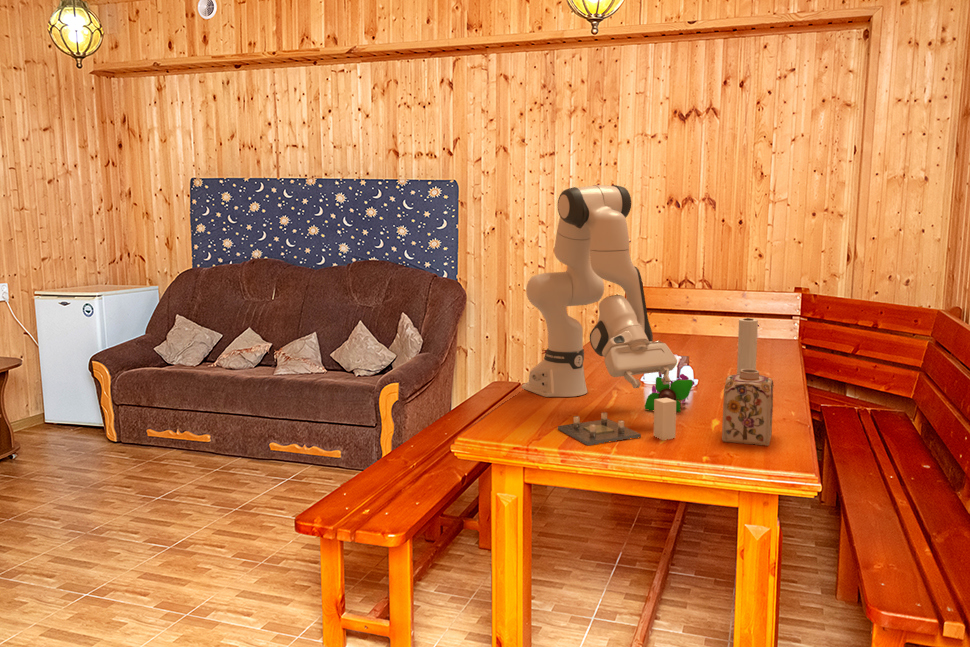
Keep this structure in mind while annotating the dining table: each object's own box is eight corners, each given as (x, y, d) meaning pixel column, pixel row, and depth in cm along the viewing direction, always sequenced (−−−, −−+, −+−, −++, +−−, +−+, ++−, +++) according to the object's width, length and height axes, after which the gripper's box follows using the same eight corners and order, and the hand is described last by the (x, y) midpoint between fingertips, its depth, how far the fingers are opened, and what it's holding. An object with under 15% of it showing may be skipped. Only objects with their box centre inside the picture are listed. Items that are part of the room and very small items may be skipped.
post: (653, 436, 213) (654, 399, 212) (666, 434, 215) (667, 397, 213) (662, 440, 210) (663, 402, 208) (675, 438, 211) (676, 401, 210)
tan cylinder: (749, 384, 269) (751, 321, 266) (733, 381, 274) (735, 319, 270) (760, 381, 274) (763, 318, 270) (744, 378, 278) (746, 316, 275)
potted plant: (650, 429, 234) (669, 408, 267) (701, 404, 228) (715, 387, 261) (629, 391, 236) (651, 375, 268) (680, 365, 230) (696, 353, 262)
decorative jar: (726, 429, 218) (728, 364, 216) (772, 434, 214) (775, 367, 211) (721, 442, 208) (723, 373, 205) (769, 447, 203) (772, 377, 200)
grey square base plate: (557, 429, 221) (557, 415, 220) (608, 422, 227) (608, 408, 226) (587, 445, 206) (587, 430, 205) (640, 437, 212) (641, 422, 212)
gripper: (659, 347, 230) (679, 387, 222) (596, 353, 222) (615, 395, 214) (668, 333, 225) (690, 374, 217) (604, 339, 217) (624, 382, 210)
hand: (652, 385), depth 216 cm, fingers open, 8 cm apart
